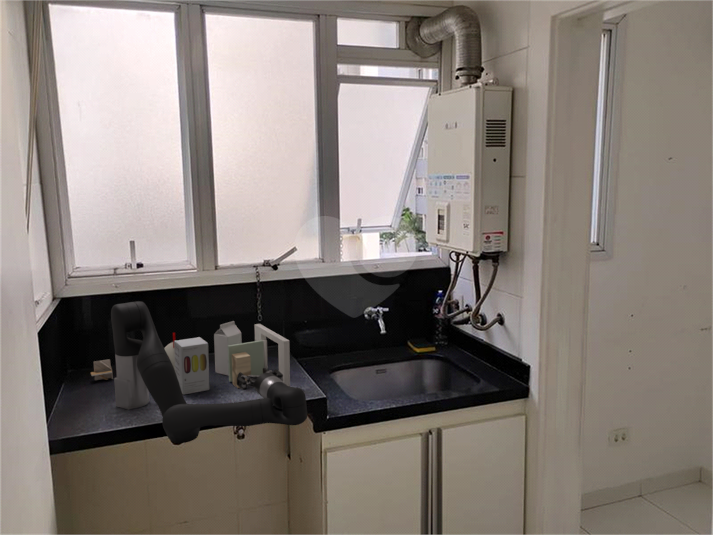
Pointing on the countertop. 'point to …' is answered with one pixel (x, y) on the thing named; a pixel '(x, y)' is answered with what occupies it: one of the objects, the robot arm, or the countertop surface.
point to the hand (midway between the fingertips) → (251, 372)
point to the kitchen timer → (171, 351)
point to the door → (256, 353)
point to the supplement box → (192, 365)
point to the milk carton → (225, 345)
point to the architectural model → (102, 370)
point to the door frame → (283, 349)
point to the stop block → (240, 366)
